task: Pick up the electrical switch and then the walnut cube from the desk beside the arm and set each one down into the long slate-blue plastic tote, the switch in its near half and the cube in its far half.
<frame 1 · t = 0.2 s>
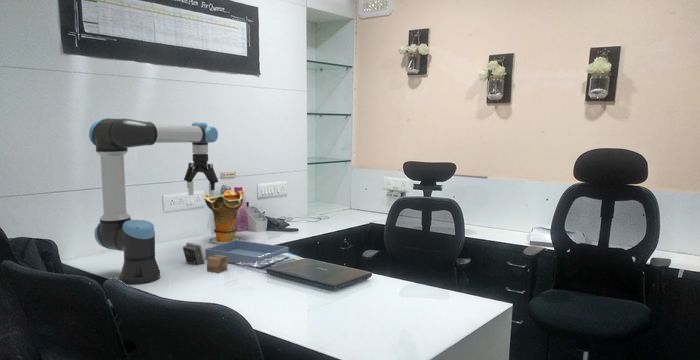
hand: (201, 195, 243), 28 cm above the table, tool pointing down, fingers open, 13 cm apart
walnut cube: (217, 270, 210), on the table
electrical switch: (194, 263, 221), on the table
decorative vase: (225, 240, 267), on the table
tote: (247, 258, 230), on the table
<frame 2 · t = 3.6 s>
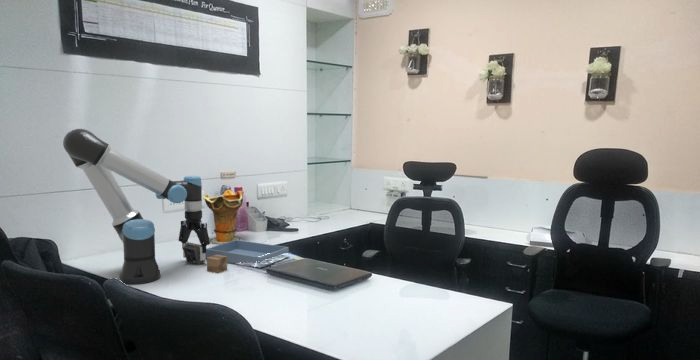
hand: (194, 258, 221), 2 cm above the table, tool pointing down, fingers closed on electrical switch, 9 cm apart
electrical switch: (194, 263, 221), on the table, touching gripper
everything else where it was.
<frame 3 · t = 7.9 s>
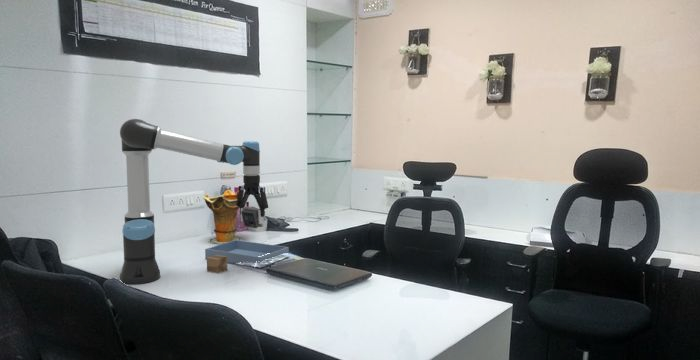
hand: (252, 222, 226), 18 cm above the table, tool pointing down, fingers closed on electrical switch, 9 cm apart
electrical switch: (252, 227, 226), point 16 cm above the table, touching gripper
everything else where it was.
when the fingers open (4 cm above the table, at t = 12.2 s): electrical switch stays where it is, resting on tote.
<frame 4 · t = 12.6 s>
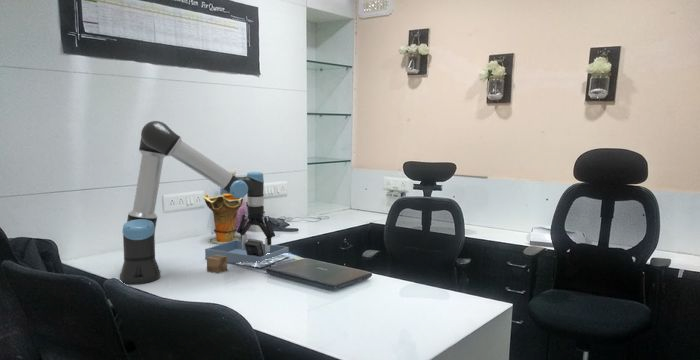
hand: (255, 249, 228), 5 cm above the table, tool pointing down, fingers open, 13 cm apart
electrical switch: (255, 258, 228), resting on tote
everything else where it was.
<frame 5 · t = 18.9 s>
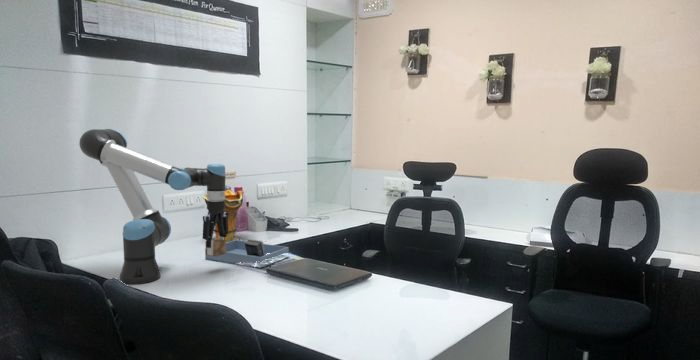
hand: (215, 253, 209), 8 cm above the table, tool pointing down, fingers closed on walnut cube, 6 cm apart
walnut cube: (215, 254, 209), point 7 cm above the table, touching gripper
everything else where it was.
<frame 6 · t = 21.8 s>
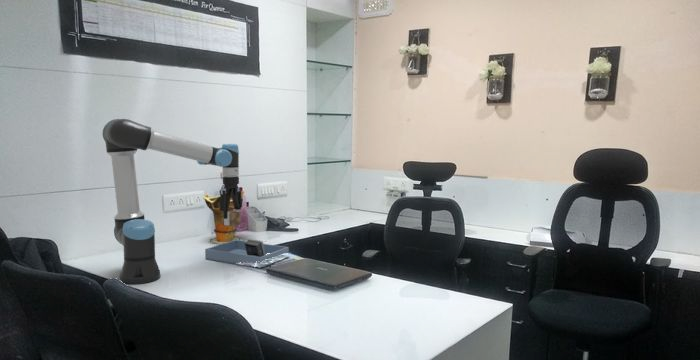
hand: (231, 223, 233), 16 cm above the table, tool pointing down, fingers closed on walnut cube, 6 cm apart
walnut cube: (231, 224, 233), point 15 cm above the table, touching gripper
everything else where it was.
when the fingers open (1 cm above the table, at t = 24.7 s): walnut cube stays where it is, resting on tote.
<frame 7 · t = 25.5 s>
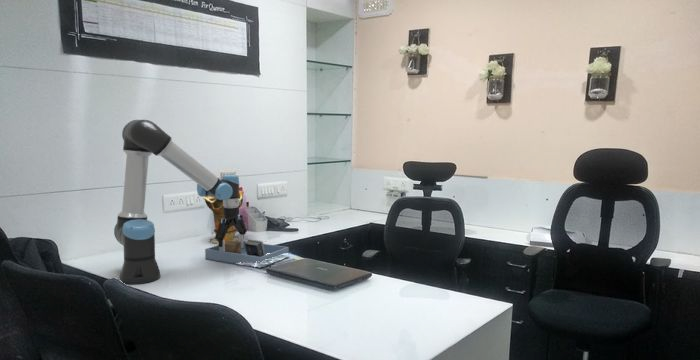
hand: (231, 250, 234), 3 cm above the table, tool pointing down, fingers open, 13 cm apart
walnut cube: (232, 254, 234), point 1 cm above the table, touching tote
everything else where it was.
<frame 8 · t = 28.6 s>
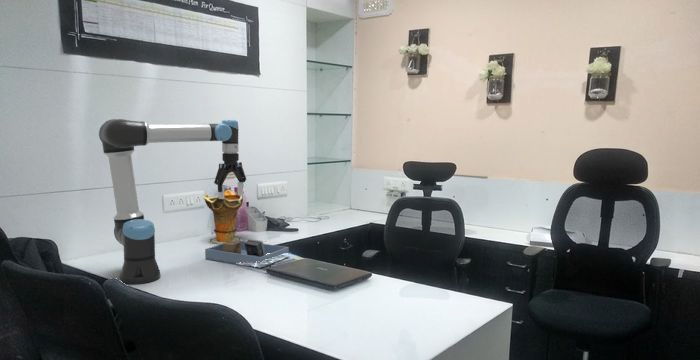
hand: (231, 197, 231), 29 cm above the table, tool pointing down, fingers open, 13 cm apart
nothing on the table moved.
at the end: electrical switch inside the target area on the tote (4.9 cm from its centre), point 0.4 cm above the tote's base; walnut cube inside the target area on the tote (9.3 cm from its centre), point 0.6 cm above the tote's base; the gripper is holding nothing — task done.
